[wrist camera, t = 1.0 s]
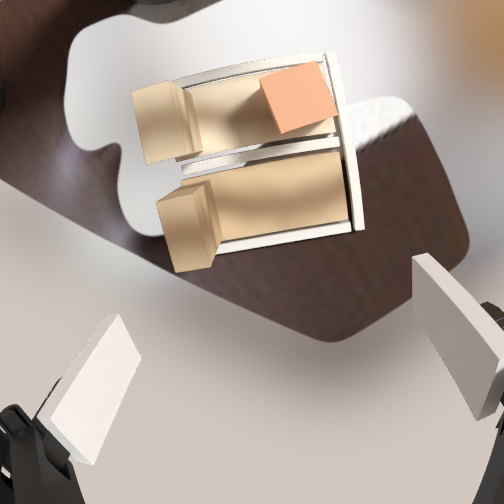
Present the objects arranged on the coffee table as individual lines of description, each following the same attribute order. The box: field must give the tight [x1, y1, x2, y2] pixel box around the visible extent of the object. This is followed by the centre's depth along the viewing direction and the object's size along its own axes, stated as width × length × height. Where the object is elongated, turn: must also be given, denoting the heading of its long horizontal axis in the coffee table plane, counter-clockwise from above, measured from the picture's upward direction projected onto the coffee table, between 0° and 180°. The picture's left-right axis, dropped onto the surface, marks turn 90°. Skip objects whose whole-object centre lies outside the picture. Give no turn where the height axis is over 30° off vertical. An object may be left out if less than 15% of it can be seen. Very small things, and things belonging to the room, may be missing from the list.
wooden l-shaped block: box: [156, 151, 348, 273], centre depth 28 cm, size 7×16×9 cm, turn 101°
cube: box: [259, 60, 338, 134], centre depth 25 cm, size 5×5×5 cm
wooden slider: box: [131, 65, 336, 165], centre depth 25 cm, size 7×16×9 cm, turn 101°
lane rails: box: [170, 51, 365, 255], centre depth 31 cm, size 19×18×1 cm
